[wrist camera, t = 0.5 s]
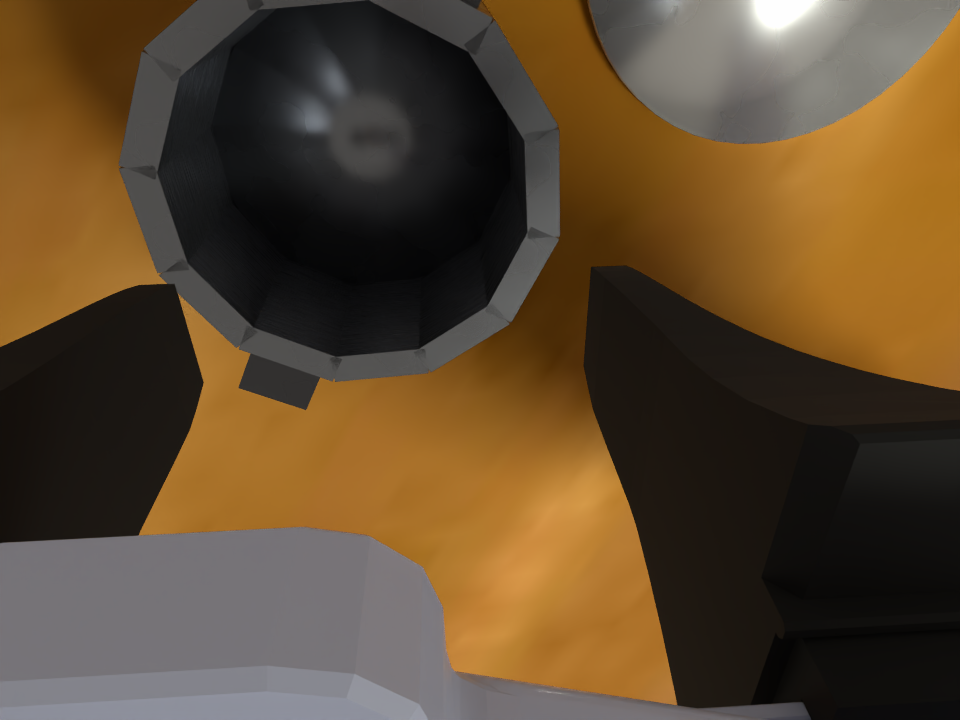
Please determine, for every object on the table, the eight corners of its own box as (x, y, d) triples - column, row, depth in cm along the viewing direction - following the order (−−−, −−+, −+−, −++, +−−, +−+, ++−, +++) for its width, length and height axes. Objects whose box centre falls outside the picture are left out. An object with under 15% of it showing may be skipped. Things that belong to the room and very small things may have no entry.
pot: (626, 0, 18) (684, 21, 14) (430, 372, 25) (430, 463, 20) (267, -210, 16) (205, -262, 11) (148, 270, 22) (80, 351, 18)
